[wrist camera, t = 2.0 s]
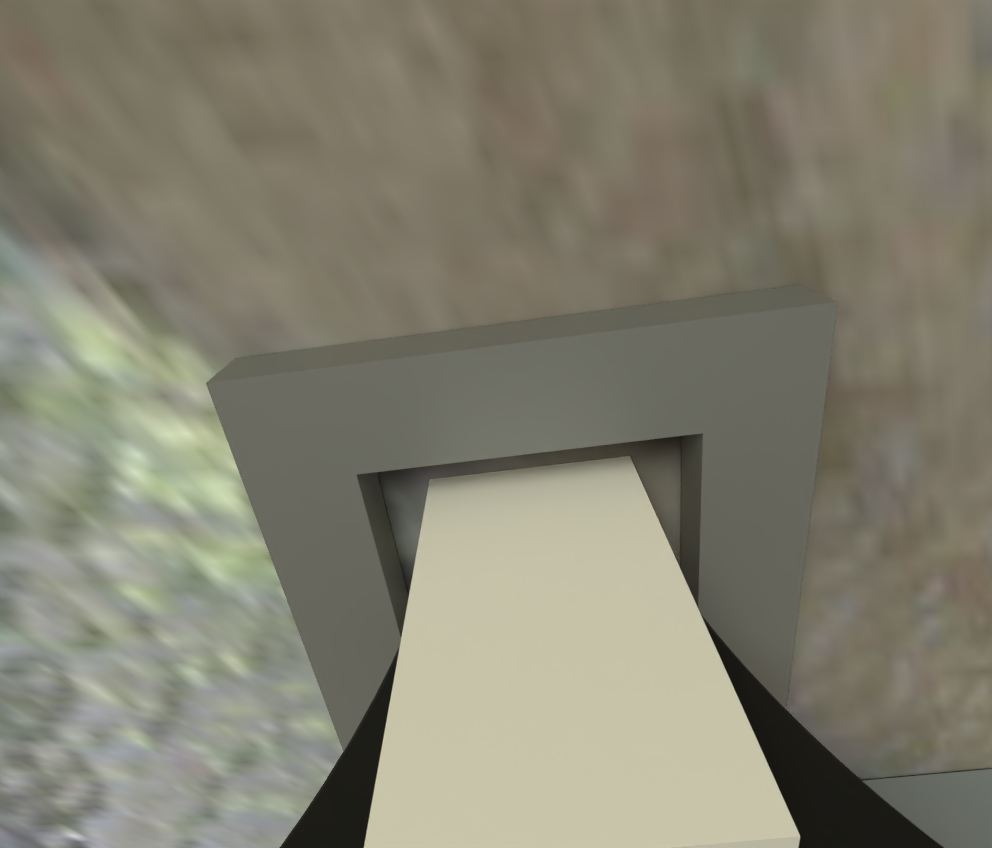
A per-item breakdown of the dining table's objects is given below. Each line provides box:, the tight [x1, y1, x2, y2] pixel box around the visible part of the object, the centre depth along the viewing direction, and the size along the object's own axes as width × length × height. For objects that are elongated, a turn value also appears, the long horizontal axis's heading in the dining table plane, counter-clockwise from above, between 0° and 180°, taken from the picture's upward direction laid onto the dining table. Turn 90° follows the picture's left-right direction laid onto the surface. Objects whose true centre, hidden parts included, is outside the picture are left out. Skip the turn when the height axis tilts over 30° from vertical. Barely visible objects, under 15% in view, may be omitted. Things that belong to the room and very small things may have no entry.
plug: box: [364, 456, 800, 848], centre depth 9 cm, size 4×6×8 cm, turn 8°
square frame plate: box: [206, 285, 838, 751], centre depth 12 cm, size 10×12×1 cm
